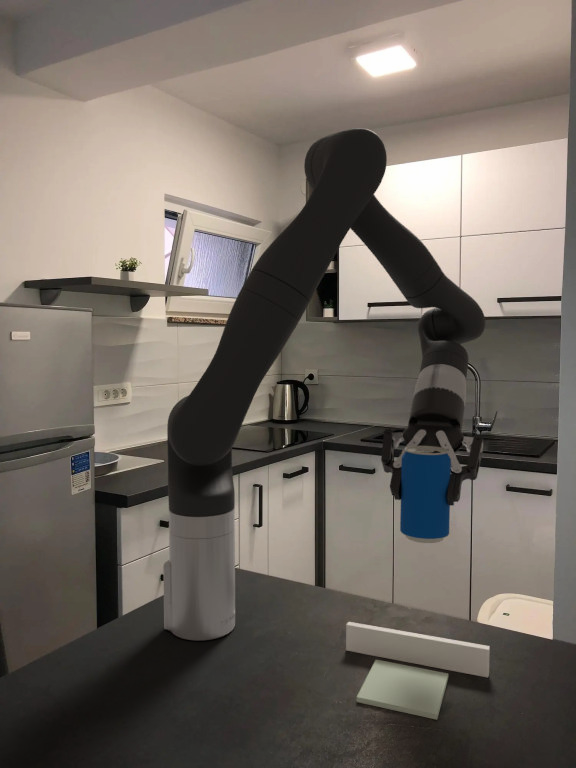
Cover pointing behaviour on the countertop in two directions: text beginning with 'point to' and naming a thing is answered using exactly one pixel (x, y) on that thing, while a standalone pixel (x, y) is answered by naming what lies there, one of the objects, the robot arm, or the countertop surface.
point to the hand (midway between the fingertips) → (423, 499)
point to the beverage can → (425, 494)
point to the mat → (404, 689)
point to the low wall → (418, 649)
